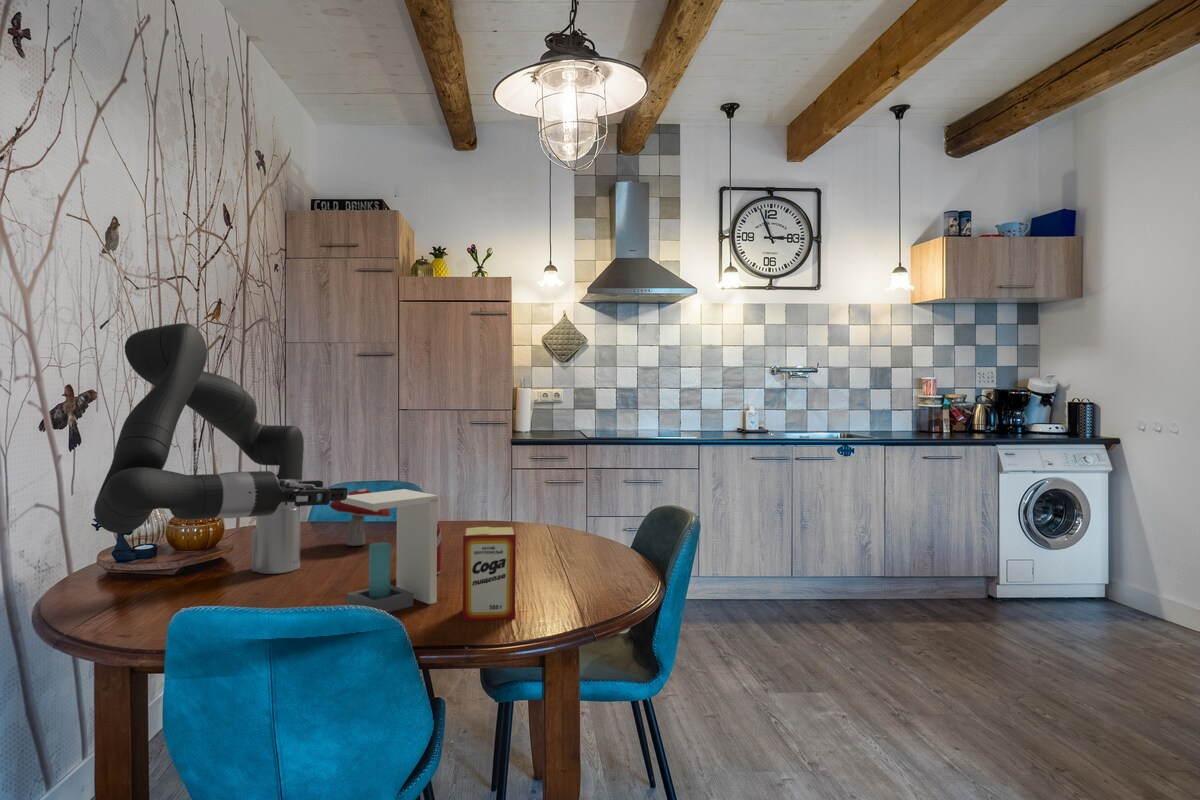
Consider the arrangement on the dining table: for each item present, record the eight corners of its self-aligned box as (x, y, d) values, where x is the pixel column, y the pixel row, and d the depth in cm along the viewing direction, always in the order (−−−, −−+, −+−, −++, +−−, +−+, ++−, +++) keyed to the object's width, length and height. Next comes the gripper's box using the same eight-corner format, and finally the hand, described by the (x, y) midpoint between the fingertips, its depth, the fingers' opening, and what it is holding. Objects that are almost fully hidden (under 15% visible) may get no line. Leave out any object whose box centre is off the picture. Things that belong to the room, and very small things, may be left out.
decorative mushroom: (346, 537, 194) (346, 484, 194) (400, 539, 193) (401, 485, 192) (317, 550, 179) (317, 492, 178) (376, 553, 177) (376, 494, 177)
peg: (365, 609, 133) (365, 546, 132) (374, 602, 137) (374, 542, 136) (385, 610, 132) (385, 547, 132) (393, 603, 136) (394, 542, 136)
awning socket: (372, 619, 127) (373, 503, 126) (340, 605, 135) (340, 496, 134) (437, 602, 137) (438, 495, 137) (403, 590, 145) (404, 489, 145)
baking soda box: (513, 607, 134) (514, 525, 134) (515, 618, 128) (515, 532, 128) (463, 609, 133) (464, 526, 133) (462, 621, 126) (463, 533, 126)
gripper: (265, 478, 110) (356, 474, 123) (226, 466, 119) (315, 464, 132) (260, 524, 111) (353, 517, 123) (222, 509, 119) (312, 503, 132)
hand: (333, 489), depth 128 cm, fingers open, 8 cm apart
